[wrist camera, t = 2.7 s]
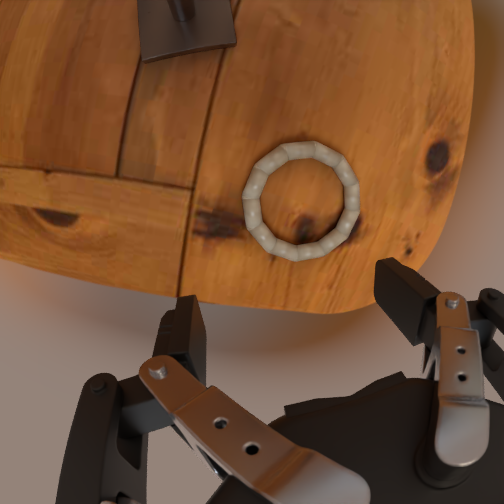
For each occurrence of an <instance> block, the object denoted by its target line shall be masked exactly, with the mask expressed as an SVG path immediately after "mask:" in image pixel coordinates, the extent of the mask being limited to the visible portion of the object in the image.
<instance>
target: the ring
mask: <svg viewBox="0 0 504 504" xmlns="http://www.w3.org/2000/svg"><path fill="white" fill-rule="evenodd" d="M304 158H314V159H316V160H318V161H320V162H322V163H324V164H326V165H328V166H330V167H332V168H333V170H334V171H335V173H336V174H337V176H338V177H339V179H340V181H341V182H342V184H343V185H344V201H345V208H344V210H343V213H342V215H341V217H340V219H339V221H338V223H337V225H336V228H335V229H333V230H332V231H331V232H329V233H328V234H327V235H326V236H324V237H323V238H322V239H320V240H319V241H318V242H313V243H307V244H301V245H294V244H291V243H288V242H286V241H283V240H280V239H277V238H276V237H275V236H274V235H273V234H272V232H271V231H270V230H269V229H268V227H267V226H266V225H265V224H264V222H263V221H262V213H261V206H260V199H259V198H260V195H261V193H262V191H263V188H264V186H265V183H266V181H267V179H268V176H269V175H270V174H271V173H273V172H274V171H275V170H276V169H278V168H279V167H280V166H282V165H283V164H284V163H286V162H287V161H288V160H295V159H304ZM242 203H243V209H244V216H245V222H246V228H247V229H248V231H249V232H250V233H251V234H252V235H253V237H254V238H255V239H256V240H257V241H258V243H259V244H260V245H261V246H262V247H263V248H264V250H265V251H266V252H268V253H271V254H274V255H277V256H280V257H283V258H286V259H288V260H291V261H302V260H307V259H312V258H318V257H323V256H325V255H326V254H328V253H329V252H330V251H332V250H333V249H334V248H335V247H337V246H338V245H339V244H341V243H342V242H343V241H344V240H346V239H347V238H348V236H349V234H350V232H351V230H352V228H353V226H354V223H355V221H356V219H357V217H358V215H359V213H360V189H359V180H358V178H357V177H356V175H355V173H354V172H353V170H352V169H351V167H350V165H349V164H348V162H347V161H346V159H345V157H344V156H343V155H342V154H340V153H338V152H336V151H334V150H332V149H330V148H328V147H326V146H324V145H322V144H320V143H318V142H316V141H304V142H294V143H284V144H281V145H279V146H278V147H277V148H275V149H274V150H273V151H271V152H270V153H269V154H267V155H266V156H265V157H263V158H262V159H261V160H259V161H258V162H257V163H256V164H255V165H254V166H253V169H252V171H251V174H250V176H249V179H248V181H247V183H246V186H245V188H244V191H243V193H242Z"/></svg>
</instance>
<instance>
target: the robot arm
mask: <svg viewBox="0 0 504 504" xmlns="http://www.w3.org/2000/svg"><path fill="white" fill-rule="evenodd" d="M374 297H375V300H376V302H377V304H378V305H379V306H380V307H381V308H382V309H383V311H384V312H385V313H386V314H387V315H388V316H389V318H390V319H392V321H393V322H394V324H395V325H396V326H397V327H398V328H399V330H400V331H401V332H402V333H403V334H404V336H405V337H406V338H407V339H408V340H409V342H410V343H411V344H412V345H413V346H415V345H418V344H420V343H424V344H425V346H424V349H423V356H422V365H421V373H420V378H406V377H405V376H404V374H403V373H402V371H400V372H398V373H395V374H393V375H390V376H387V377H384V378H382V379H379V380H377V381H374V382H373V383H371V384H370V385H368V386H366V387H365V388H363V389H362V390H360V391H358V392H356V393H355V394H353V395H351V396H346V397H333V398H318V399H312V400H309V401H304V402H300V403H296V404H291V405H286V406H284V411H285V415H284V416H282V417H279V418H278V419H276V420H274V421H272V422H271V423H269V424H268V425H266V424H265V423H263V422H262V421H261V420H259V419H258V418H256V417H255V416H254V415H252V414H251V413H249V412H248V411H247V410H245V409H244V408H243V407H241V406H240V405H239V404H237V403H236V402H235V401H234V400H232V399H231V398H229V397H228V396H227V395H226V394H225V393H223V392H222V391H220V390H219V389H218V388H217V387H215V386H210V387H209V388H207V387H206V330H205V325H204V322H203V318H202V315H201V311H200V308H199V304H198V300H197V297H196V295H189V296H183V297H178V298H177V303H176V308H175V310H169V311H167V312H166V313H165V315H164V316H163V317H162V318H161V322H160V326H159V330H158V335H157V338H156V342H155V346H154V351H153V355H152V358H150V359H148V360H147V361H146V362H144V363H143V364H142V366H141V367H140V370H139V374H138V375H136V376H133V377H130V378H127V379H124V380H121V381H117V379H116V378H115V376H113V375H112V374H109V373H100V374H97V375H94V376H93V377H91V378H90V379H89V380H87V382H86V383H85V385H84V386H83V389H82V392H81V395H80V399H79V402H78V405H77V408H76V412H75V415H74V419H73V423H72V426H71V430H70V434H69V438H68V442H67V446H66V450H65V454H64V459H63V464H62V469H61V474H60V479H59V485H58V491H57V497H56V503H55V504H146V482H147V451H148V449H147V447H148V433H149V432H151V431H155V430H158V429H161V428H164V427H167V426H170V427H171V428H172V429H173V431H174V432H175V433H176V434H177V435H178V436H179V437H180V439H181V440H182V441H183V442H184V443H185V444H186V445H187V446H188V447H189V448H190V449H191V450H192V451H193V452H194V453H195V454H196V456H198V458H199V459H200V460H201V461H202V462H203V463H204V464H205V466H206V467H207V468H208V469H209V470H210V471H211V472H212V473H213V474H214V475H215V476H216V477H217V478H218V479H220V480H221V481H222V483H221V485H220V486H219V487H218V489H217V490H216V491H215V492H214V494H213V495H212V496H211V498H210V499H209V500H208V501H207V503H206V504H504V405H502V404H500V403H496V402H493V401H490V400H487V399H485V397H484V378H483V374H484V375H485V377H486V378H487V379H488V381H489V382H490V383H491V385H492V386H493V387H494V389H495V390H496V391H497V393H498V394H499V395H500V397H501V398H502V400H503V401H504V351H503V350H502V349H501V348H500V347H499V346H498V345H497V344H496V342H495V341H494V340H493V336H494V334H495V331H496V329H497V328H498V329H499V330H500V331H501V332H502V333H503V335H504V294H503V293H501V292H499V291H498V290H496V289H492V288H485V289H483V290H481V291H480V294H479V298H478V300H476V301H466V300H465V298H464V297H463V296H461V295H460V294H457V293H454V292H443V293H441V292H440V291H439V290H438V289H437V288H435V287H434V286H433V285H432V284H431V283H429V282H428V281H427V280H425V278H423V277H422V276H420V274H418V273H417V272H416V271H415V270H413V269H411V268H409V267H407V266H404V265H402V264H401V263H400V262H398V261H397V260H396V259H395V258H393V257H391V258H386V259H382V260H378V261H377V262H376V266H375V281H374Z"/></svg>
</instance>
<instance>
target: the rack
mask: <svg viewBox="0 0 504 504" xmlns="http://www.w3.org/2000/svg"><path fill="white" fill-rule="evenodd" d="M137 4H138V22H139V35H140V46H141V57H142V61H143V62H144V63H145V64H146V63H150V62H154V61H158V60H162V59H166V58H170V57H175V56H180V55H185V54H190V53H195V52H201V51H207V50H213V49H220V48H228V47H235V46H236V43H237V41H236V35H235V29H234V23H233V17H232V11H231V5H230V0H137Z"/></svg>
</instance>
